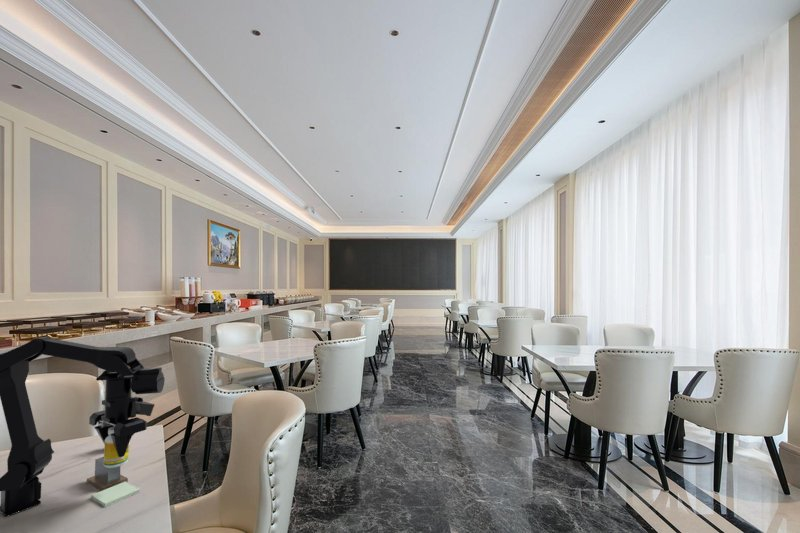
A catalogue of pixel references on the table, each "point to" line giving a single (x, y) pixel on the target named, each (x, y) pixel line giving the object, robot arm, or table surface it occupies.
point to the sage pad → (115, 494)
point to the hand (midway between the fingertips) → (116, 454)
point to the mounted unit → (105, 476)
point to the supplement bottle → (113, 453)
